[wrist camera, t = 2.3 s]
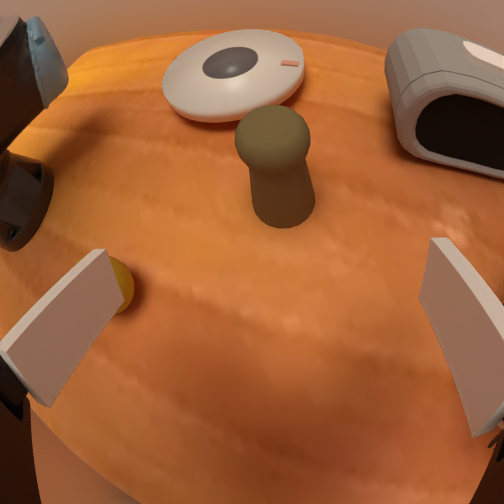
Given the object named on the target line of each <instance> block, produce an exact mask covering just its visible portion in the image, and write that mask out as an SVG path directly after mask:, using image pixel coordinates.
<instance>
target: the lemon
mask: <svg viewBox="0 0 504 504" xmlns="http://www.w3.org/2000/svg"><path fill="white" fill-rule="evenodd" d="M83 258H84V257H83ZM83 258H81V259H80V260H79V261H77V263H76V264H78V263H79V262H80V261H81V260H82V259H83ZM109 259H110V262H111V265H112V268H113V271H114V274H115V276H116V279H117V282H118V285H119V287H120V290H121V292H122V295H123V298H124V300H125V301H124V302H123V303H122V305H121V306H120V307H119V308H118V310H117V311H116V312H115V314H118V313H120V312H122V311H123V310H125V309H126V308H127V307H128V305H129V304H130V302H131V300H132V298H133V295H134V281H133V277H132V275H131V273H130V271H129V270H128V269H127V267H126V266H125V265H124V264H123V263H121V262H120V261H119V260H117V259H116V258H113V257H111V256H109ZM76 264H75V265H76ZM75 265H74V266H75ZM115 314H114V315H115Z"/></svg>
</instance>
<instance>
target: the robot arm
mask: <svg viewBox="0 0 504 504" xmlns="http://www.w3.org/2000/svg"><path fill="white" fill-rule="evenodd" d="M68 80H69V77H68V72H67V69H66V67H65V64H64V62H63V60H62V57H61V55H60V53H59V51H58V49H57V47H56V45H55V43H54V41H53V39H52V37H51V35H50V33H49V32H48V30H47V28H46V26H45V25H44V23H43V22H42V21H41V19H40V18H39V17H38V16H34V17H32V18H29V19H28V20H27V21H26V22H24V21H23V20H22V19H21V18H20V17H19V16H18V15H17V14H10V15H4V16H0V247H2V248H4V249H6V250H8V251H16V250H18V249H20V248H21V247H23V246H24V245H25V244H26V243H27V242H28V241H29V240H30V238H31V237H32V236H33V234H34V233H35V231H36V230H37V228H38V227H39V225H40V223H41V221H42V219H43V217H44V215H45V212H46V210H47V207H48V204H49V201H50V198H51V194H52V188H53V175H52V172H51V170H50V168H49V167H47V166H46V165H45V164H44V163H42V162H41V161H39V160H36V159H33V158H29V157H25V156H22V155H18V154H14V153H11V152H10V151H9V150H7V148H8V146H9V145H10V144H11V143H12V142H13V141H14V140H15V138H16V137H17V136H18V135H19V134H20V133H21V132H22V131H23V130H24V129H25V128H26V127H27V126H28V125H29V124H30V123H31V122H32V121H33V120H34V119H35V118H36V117H37V116H38V115H39V114H40V113H41V112H42V111H43V110H44V109H47V108H48V107H49V104H50V103H51V102H52V101H54V100H55V99H56V98H57V97H58V96H59V95H60V94H61V93H62V92H63V91H64V90H65V88H66V87H67V84H68ZM419 300H420V302H421V304H422V307H423V309H424V311H425V313H426V315H427V317H428V319H429V321H430V324H431V326H432V328H433V330H434V332H435V335H436V337H437V339H438V342H439V344H440V346H441V349H442V351H443V353H444V356H445V358H446V361H447V363H448V366H449V369H450V371H451V374H452V376H453V379H454V382H455V385H456V387H457V390H458V393H459V396H460V399H461V402H462V405H463V408H464V411H465V414H466V418H467V421H468V424H469V428H470V431H471V435H472V438H474V437H477V436H480V435H482V434H485V433H488V432H491V431H493V429H494V428H495V427H496V426H497V425H498V424H499V423H500V422H501V421H502V420H503V423H504V304H502V303H501V302H500V301H499V299H498V298H497V297H496V295H495V294H494V293H493V291H492V290H491V289H490V287H489V286H488V285H487V284H486V282H485V281H484V280H483V278H482V277H481V276H480V275H479V273H478V272H477V271H476V270H475V269H474V267H473V266H472V265H471V264H470V263H469V261H468V260H467V259H466V258H465V257H464V256H463V255H462V253H461V252H460V251H459V250H458V249H457V248H456V247H455V246H454V244H453V243H452V242H451V241H450V240H449V239H448V238H431V239H430V245H429V251H428V256H427V262H426V267H425V272H424V277H423V281H422V286H421V290H420V294H419ZM124 301H125V300H124V298H123V295H122V292H121V290H120V287H119V285H118V282H117V279H116V276H115V274H114V271H113V268H112V265H111V262H110V259H109V256H108V253H107V250H106V249H93V250H92V251H91V252H90V253H89V254H88V255H87V256H85V257H84V258H83V259H82V260H81V261H80V262H79V263H78V264H76V265H75V266H74V267H73V268H72V269H71V270H70V271H69V272H68V273H67V274H65V275H64V276H63V277H62V278H61V279H60V280H59V281H58V282H57V283H56V284H55V285H54V286H53V287H52V288H51V289H50V290H49V291H48V292H47V293H46V294H45V295H44V296H43V297H42V298H41V299H40V300H39V301H38V302H37V303H36V304H35V305H34V306H33V307H32V308H31V309H30V310H29V311H28V312H27V313H26V314H25V315H24V316H23V317H22V318H21V319H20V320H19V321H18V322H17V324H16V325H15V326H14V327H13V328H12V329H11V330H10V331H9V332H8V333H7V335H6V336H5V337H4V338H3V339H2V340H1V341H0V504H41V500H40V495H39V490H38V484H37V478H36V472H35V465H34V457H33V448H32V437H31V436H32V435H31V421H30V420H31V418H30V401H29V399H28V398H27V397H26V395H27V393H28V392H29V393H30V394H31V395H32V397H33V398H34V399H35V400H36V401H37V402H38V403H40V404H42V405H44V406H46V407H48V408H50V407H51V406H52V404H53V402H54V401H55V399H56V398H57V396H58V395H59V393H60V391H61V390H62V388H63V387H64V385H65V384H66V382H67V381H68V379H69V378H70V376H71V375H72V373H73V372H74V370H75V369H76V367H77V366H78V364H79V363H80V361H81V360H82V358H83V357H84V355H85V354H86V353H87V351H88V350H89V348H90V347H91V345H92V344H93V343H94V341H95V340H96V338H97V337H98V336H99V334H100V333H101V331H102V330H103V329H104V327H105V326H106V325H107V323H108V322H109V321H110V319H111V318H112V317H113V315H114V314H115V312H116V311H117V310H118V308H119V307H120V306H121V305H122V303H123V302H124ZM496 442H497V444H496V446H495V448H494V449H493V450H494V452H493V454H492V457H491V459H490V461H489V464H488V466H487V469H486V471H485V473H484V475H483V477H482V480H481V482H480V484H479V486H478V488H477V490H476V492H475V494H474V496H473V498H472V499H471V501H470V503H469V504H504V429H503V430H502V431H501V432H500V433H499V434H498V435H497V436H496V437H495V438H494V439H493V440H492V441H491V442H490V443H489V445H488V448H491V447H492V446H493V445H494V444H495V443H496Z"/></svg>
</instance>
